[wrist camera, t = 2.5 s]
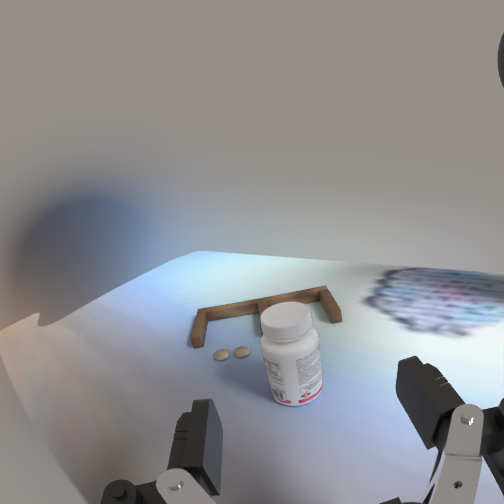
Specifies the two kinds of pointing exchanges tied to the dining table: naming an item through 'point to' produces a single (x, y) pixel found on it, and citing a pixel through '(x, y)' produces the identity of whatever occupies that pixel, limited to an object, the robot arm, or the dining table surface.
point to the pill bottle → (291, 353)
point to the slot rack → (259, 307)
